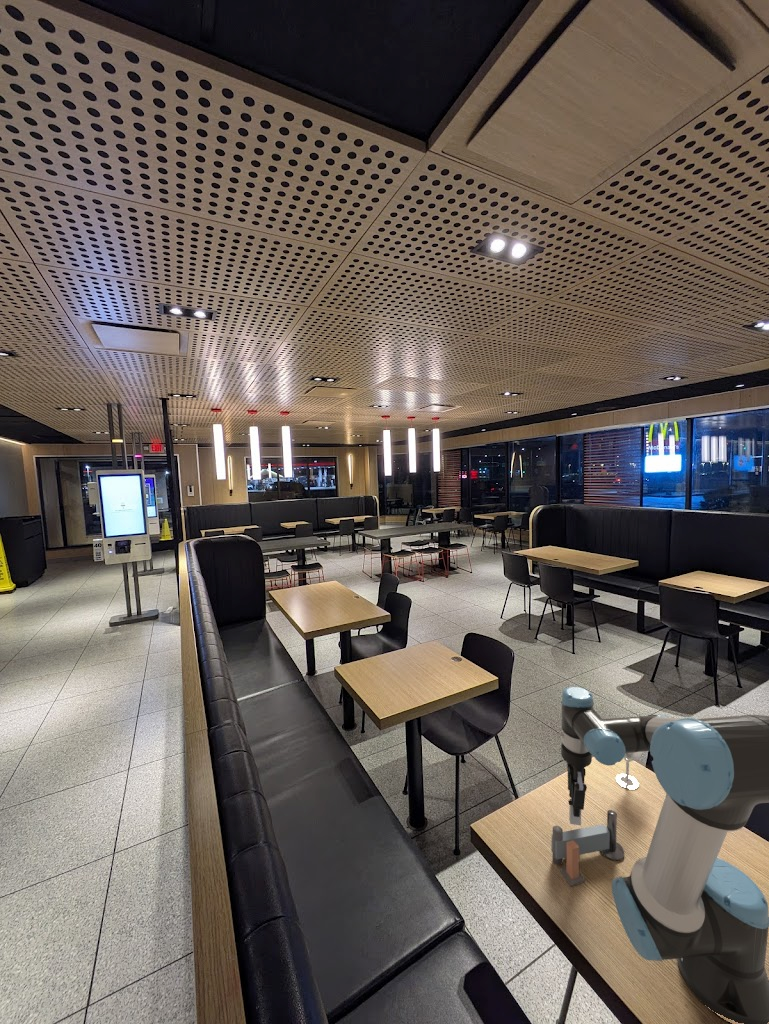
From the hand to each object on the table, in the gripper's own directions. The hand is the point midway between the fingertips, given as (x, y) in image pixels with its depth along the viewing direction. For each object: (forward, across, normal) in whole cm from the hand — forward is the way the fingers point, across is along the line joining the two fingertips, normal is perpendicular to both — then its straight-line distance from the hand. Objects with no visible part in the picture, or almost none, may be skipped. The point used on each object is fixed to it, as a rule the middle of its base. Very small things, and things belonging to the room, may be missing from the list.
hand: (575, 822), depth 116 cm
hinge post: (+4, +3, +8) cm, 10 cm away
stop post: (+4, +12, -3) cm, 13 cm away
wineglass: (+5, -23, +20) cm, 31 cm away
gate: (+4, +6, 0) cm, 7 cm away
